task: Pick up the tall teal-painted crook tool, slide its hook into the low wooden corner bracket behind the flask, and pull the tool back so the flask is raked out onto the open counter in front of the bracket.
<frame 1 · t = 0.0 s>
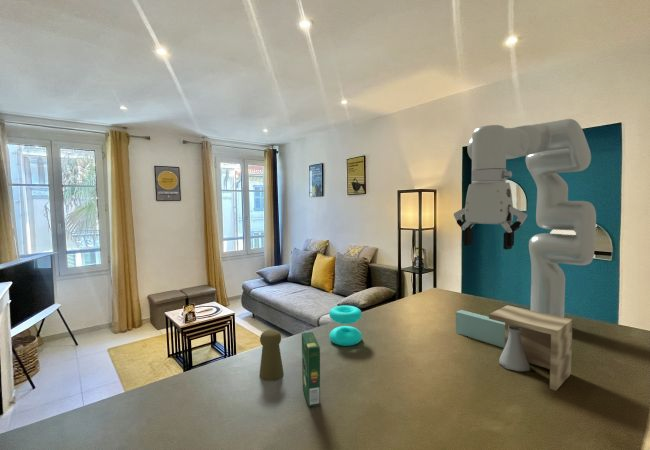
hand: (487, 247, 81), 31 cm above the counter, tool pointing down, fingers open, 9 cm apart
flask: (514, 366, 84), on the counter
wooden corner bracket: (528, 369, 82), on the counter
coffee box: (311, 397, 72), on the counter
donuts: (345, 341, 101), on the counter
olive pawn: (271, 375, 81), on the counter
crook tool: (492, 342, 99), on the counter
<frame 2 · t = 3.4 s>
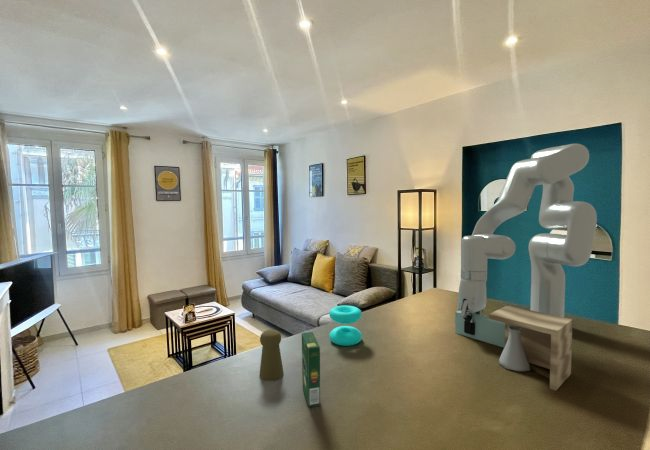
hand: (472, 331, 103), 1 cm above the counter, tool pointing down, fingers closed on crook tool, 3 cm apart
crook tool: (492, 342, 99), on the counter, touching gripper
everything else where it was.
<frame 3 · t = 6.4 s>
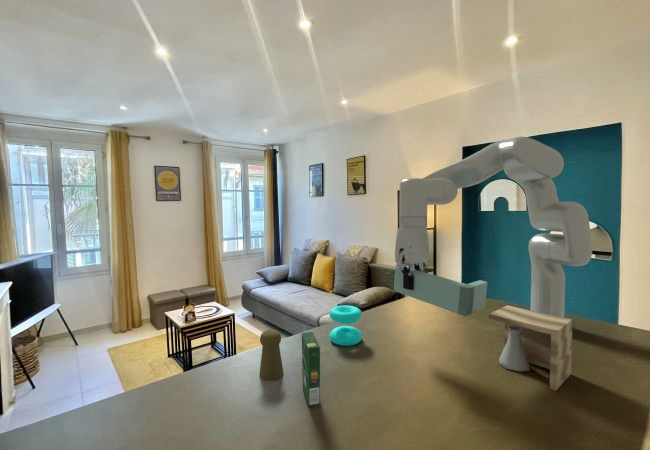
hand: (412, 287, 92), 19 cm above the counter, tool pointing down, fingers closed on crook tool, 3 cm apart
crook tool: (429, 301, 88), point 16 cm above the counter, tilted 5°, touching gripper
everything else where it was.
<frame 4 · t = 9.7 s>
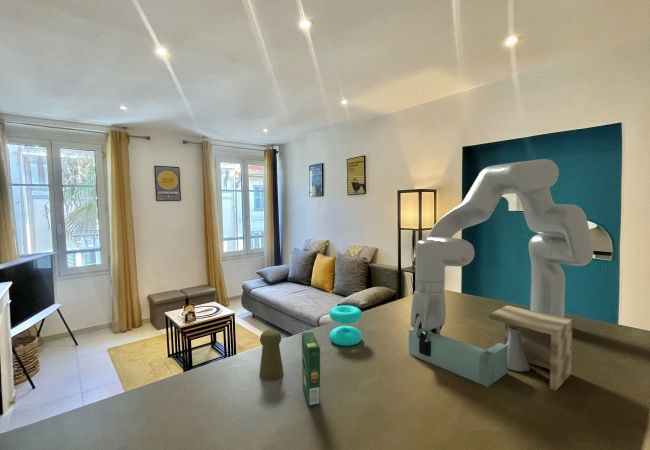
hand: (429, 351, 88), 2 cm above the counter, tool pointing down, fingers closed on crook tool, 3 cm apart
crook tool: (447, 366, 84), on the counter, touching gripper
everything else where it was.
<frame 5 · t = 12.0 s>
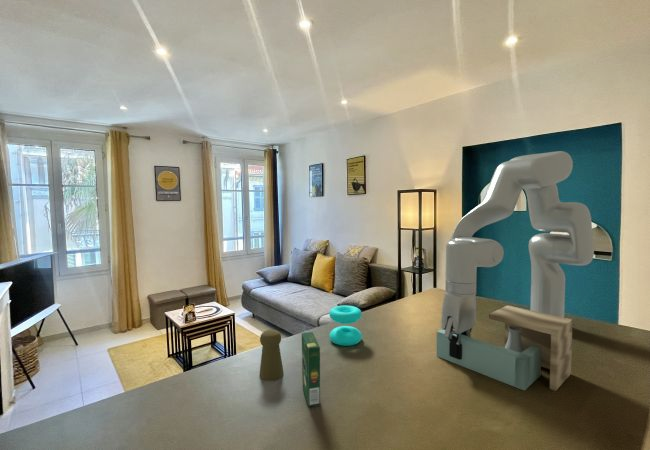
hand: (459, 354, 86), 2 cm above the counter, tool pointing down, fingers closed on crook tool, 3 cm apart
crook tool: (478, 369, 82), on the counter, touching gripper
everything else where it was.
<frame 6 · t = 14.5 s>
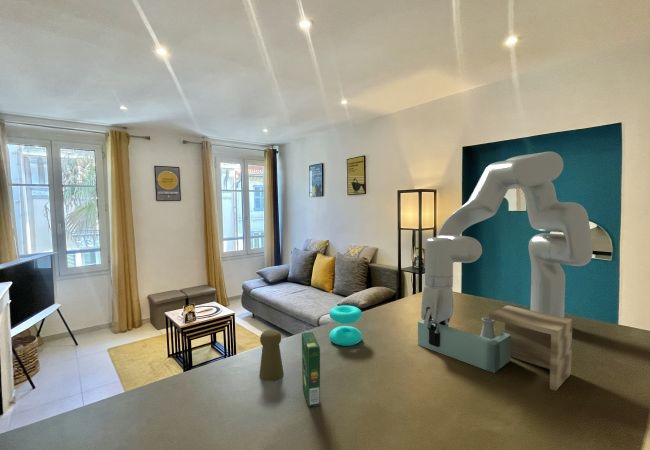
hand: (438, 342, 94), 2 cm above the counter, tool pointing down, fingers closed on crook tool, 3 cm apart
flask: (487, 355, 91), on the counter, touching crook tool
crook tool: (455, 355, 90), on the counter, touching gripper, flask
everything else where it was.
when the fingers open (2 cm above the counter, at t = 15.8 s): crook tool stays where it is, on the counter.
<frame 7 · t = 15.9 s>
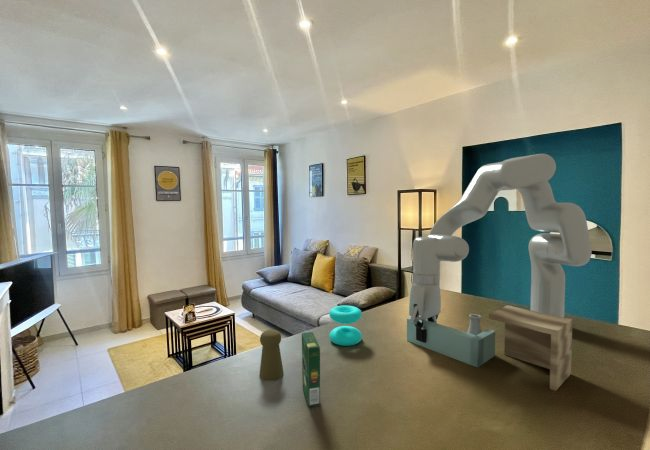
hand: (425, 338, 97), 2 cm above the counter, tool pointing down, fingers open, 4 cm apart
flask: (474, 350, 94), on the counter
crook tool: (442, 351, 93), on the counter
everything else where it was.
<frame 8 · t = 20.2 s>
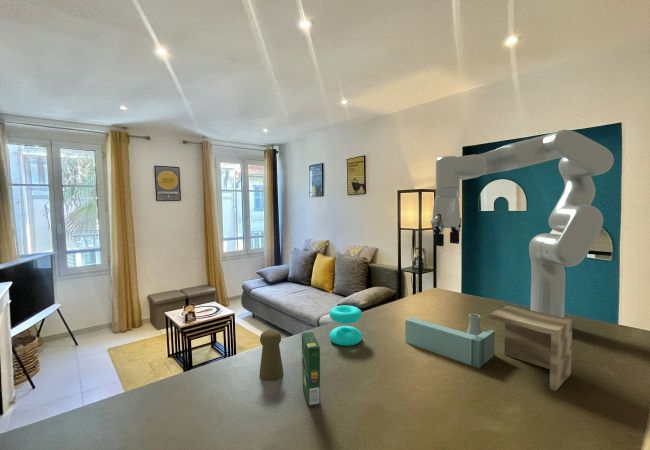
hand: (446, 244, 110), 28 cm above the counter, tool pointing down, fingers open, 9 cm apart
at the end: flask inside the target area (2.5 cm from its centre), on the counter; flask tilted 0°; the gripper is holding nothing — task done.
